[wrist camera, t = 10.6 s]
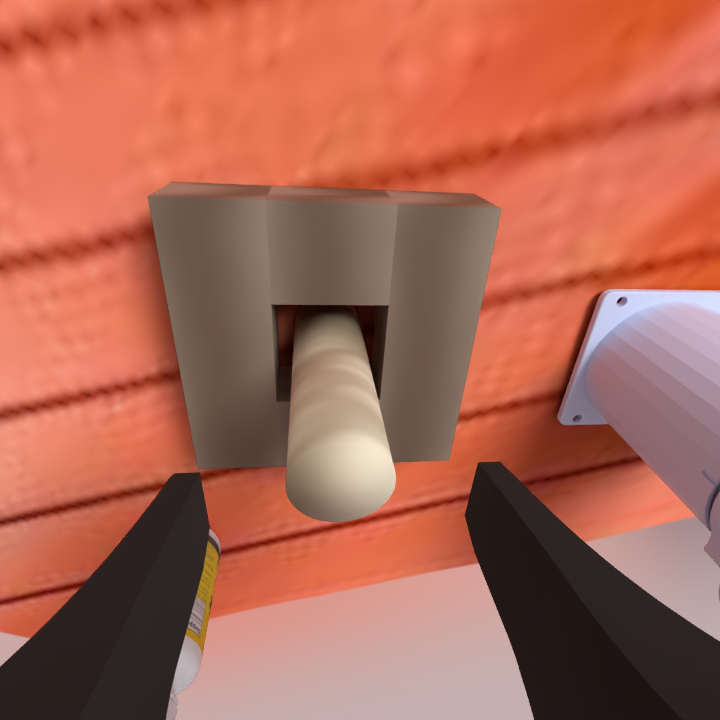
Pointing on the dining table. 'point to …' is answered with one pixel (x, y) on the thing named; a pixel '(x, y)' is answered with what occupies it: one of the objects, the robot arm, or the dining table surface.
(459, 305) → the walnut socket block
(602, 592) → the robot arm
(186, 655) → the supplement bottle
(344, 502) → the beech peg
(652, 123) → the dining table surface
